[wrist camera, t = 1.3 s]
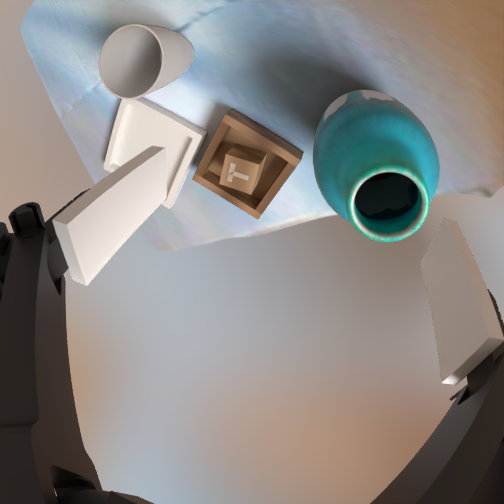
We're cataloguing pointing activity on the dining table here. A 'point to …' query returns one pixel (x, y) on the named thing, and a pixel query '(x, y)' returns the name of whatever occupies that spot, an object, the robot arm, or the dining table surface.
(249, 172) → the letter cube
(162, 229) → the dining table surface
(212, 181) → the brown wooden tray
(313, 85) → the dining table surface
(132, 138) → the tray
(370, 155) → the vase
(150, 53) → the cup
